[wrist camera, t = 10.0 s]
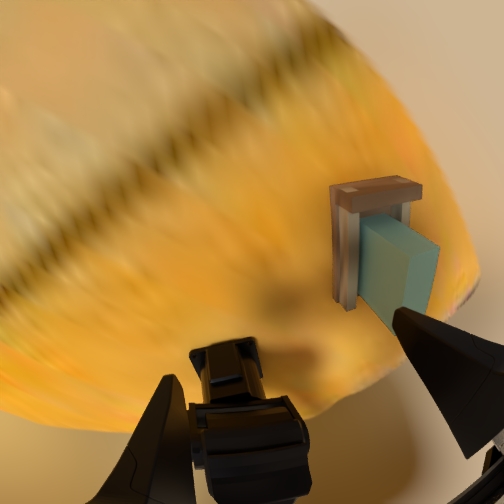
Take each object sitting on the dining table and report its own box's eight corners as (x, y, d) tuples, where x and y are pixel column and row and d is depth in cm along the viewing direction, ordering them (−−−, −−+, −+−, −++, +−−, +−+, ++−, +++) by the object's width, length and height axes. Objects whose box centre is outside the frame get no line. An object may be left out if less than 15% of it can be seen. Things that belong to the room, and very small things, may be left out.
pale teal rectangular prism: (380, 279, 25) (423, 322, 19) (354, 288, 25) (394, 336, 18) (385, 212, 22) (441, 246, 15) (356, 219, 21) (410, 257, 15)
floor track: (390, 279, 26) (409, 296, 23) (333, 298, 26) (348, 319, 23) (397, 175, 21) (422, 184, 18) (329, 185, 20) (351, 197, 17)
